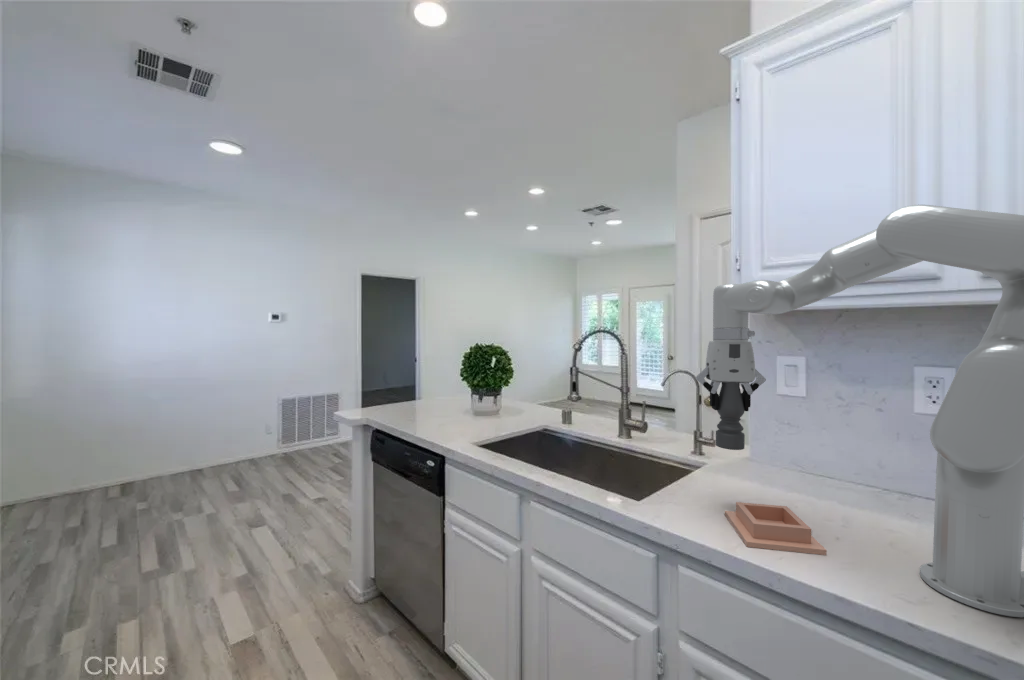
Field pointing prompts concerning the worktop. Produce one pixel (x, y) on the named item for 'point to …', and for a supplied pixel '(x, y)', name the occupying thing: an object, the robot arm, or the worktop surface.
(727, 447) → the candle holder
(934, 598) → the worktop surface
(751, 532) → the square tray
